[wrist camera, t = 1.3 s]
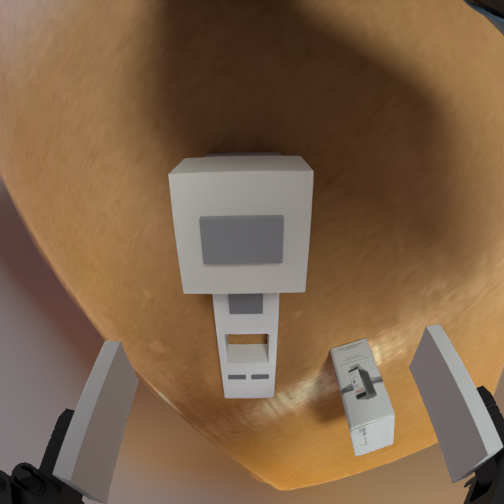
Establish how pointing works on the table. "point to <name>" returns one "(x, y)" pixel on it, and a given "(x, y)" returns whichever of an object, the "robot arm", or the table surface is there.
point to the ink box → (363, 397)
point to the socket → (247, 355)
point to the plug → (242, 223)
